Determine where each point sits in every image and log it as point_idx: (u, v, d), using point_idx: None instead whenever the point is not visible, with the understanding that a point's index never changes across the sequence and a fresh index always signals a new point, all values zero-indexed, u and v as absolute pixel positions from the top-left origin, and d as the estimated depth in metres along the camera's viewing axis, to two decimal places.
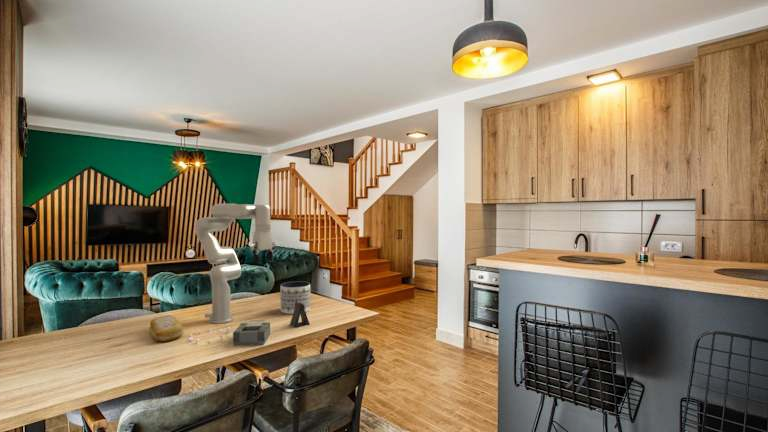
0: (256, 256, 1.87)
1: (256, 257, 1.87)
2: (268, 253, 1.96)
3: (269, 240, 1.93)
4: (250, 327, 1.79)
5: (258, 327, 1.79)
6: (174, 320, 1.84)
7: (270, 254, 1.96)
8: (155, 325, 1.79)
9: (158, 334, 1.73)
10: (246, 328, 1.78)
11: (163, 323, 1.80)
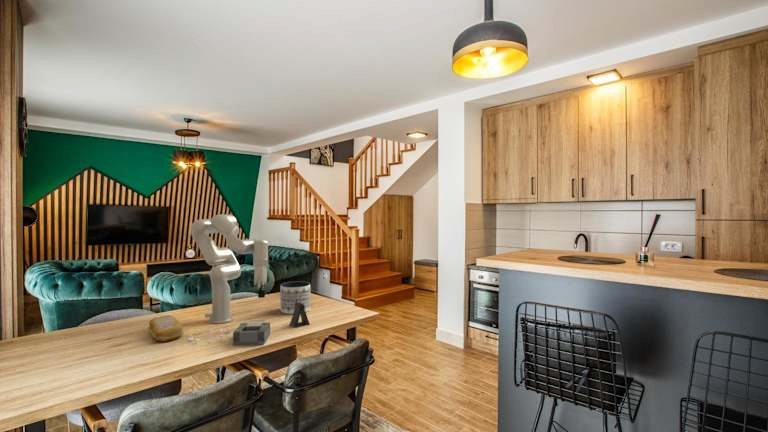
0: (262, 292, 1.94)
1: (262, 293, 1.94)
2: None
3: (266, 274, 1.98)
4: (250, 327, 1.79)
5: (258, 327, 1.79)
6: (174, 320, 1.84)
7: None
8: (155, 325, 1.79)
9: (158, 334, 1.73)
10: (246, 328, 1.78)
11: (163, 323, 1.80)
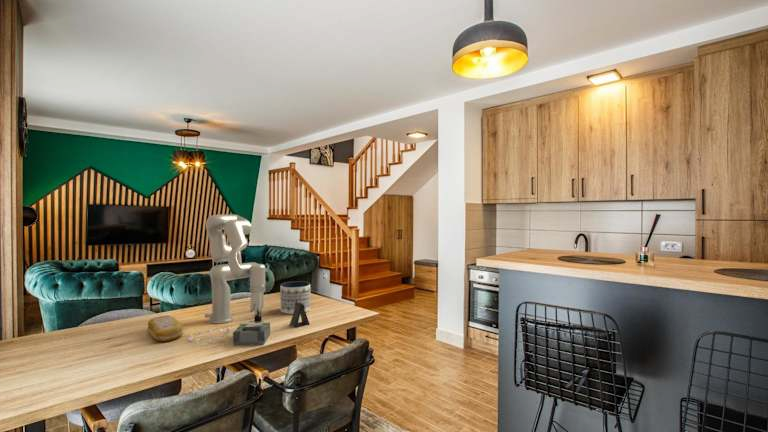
0: (258, 318, 1.88)
1: (258, 319, 1.88)
2: None
3: (263, 299, 1.91)
4: (250, 327, 1.78)
5: (258, 327, 1.78)
6: (173, 320, 1.84)
7: None
8: (154, 325, 1.79)
9: (159, 334, 1.73)
10: (246, 328, 1.78)
11: (163, 323, 1.80)
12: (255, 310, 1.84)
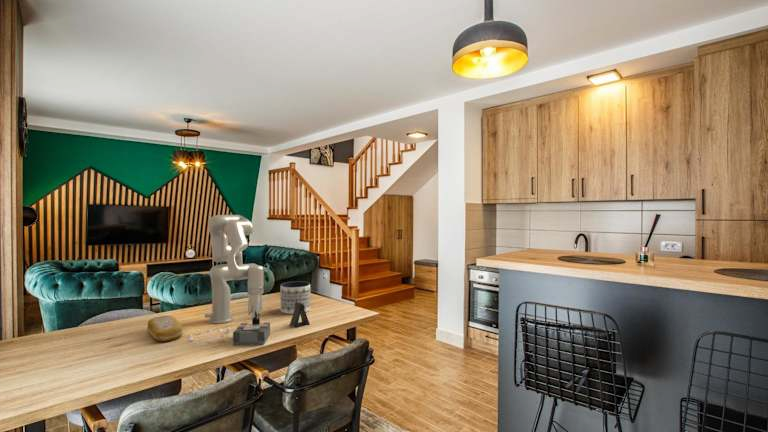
0: (256, 321, 1.83)
1: (256, 322, 1.83)
2: None
3: (261, 301, 1.87)
4: (247, 330, 1.74)
5: (256, 330, 1.74)
6: (173, 320, 1.84)
7: None
8: (154, 325, 1.79)
9: (159, 334, 1.73)
10: None
11: (162, 323, 1.80)
12: (253, 312, 1.79)
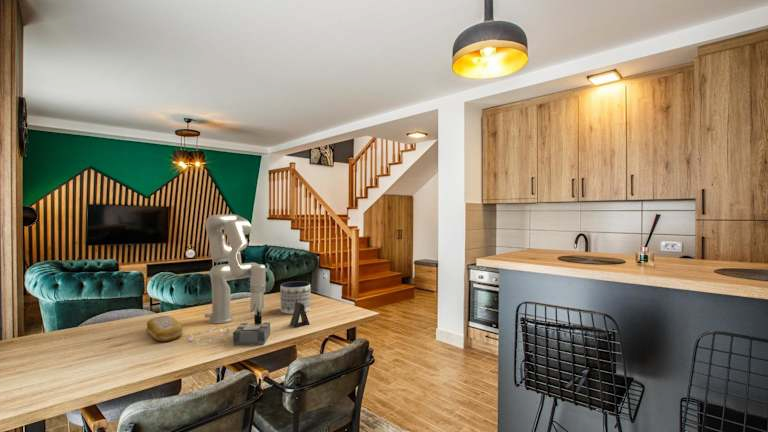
0: (258, 318, 1.89)
1: (258, 319, 1.89)
2: None
3: (263, 299, 1.92)
4: (247, 330, 1.74)
5: (256, 330, 1.74)
6: (173, 320, 1.84)
7: None
8: (154, 325, 1.79)
9: (159, 334, 1.73)
10: None
11: (162, 323, 1.80)
12: (255, 310, 1.85)
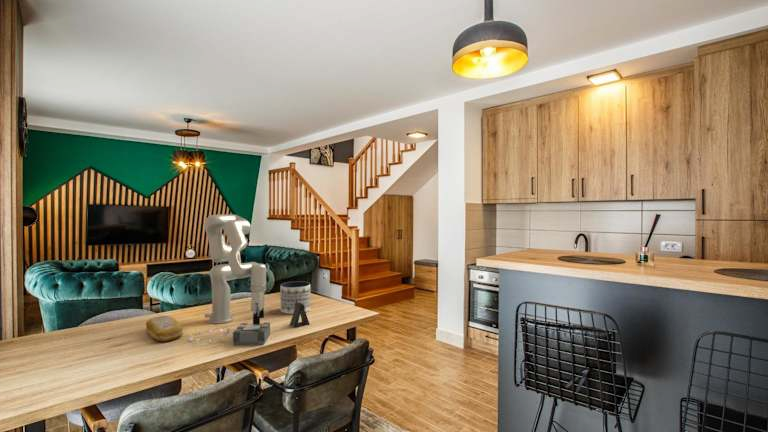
0: (257, 318, 1.85)
1: (257, 319, 1.85)
2: (259, 311, 1.95)
3: (264, 299, 1.93)
4: (247, 330, 1.74)
5: (256, 330, 1.74)
6: (173, 320, 1.84)
7: (262, 312, 1.95)
8: (154, 326, 1.79)
9: (159, 334, 1.73)
10: None
11: (162, 323, 1.80)
12: None
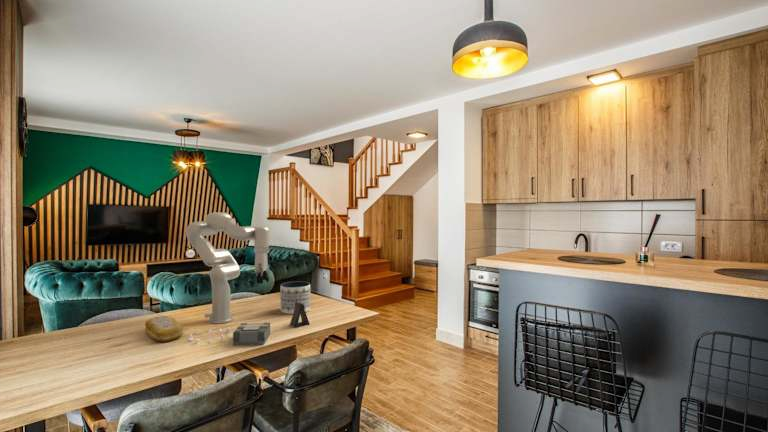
0: (260, 277, 1.93)
1: (260, 278, 1.93)
2: (262, 273, 2.03)
3: None
4: (247, 330, 1.74)
5: (256, 330, 1.74)
6: (172, 320, 1.84)
7: (265, 274, 2.03)
8: (154, 326, 1.78)
9: (160, 334, 1.73)
10: None
11: (162, 323, 1.80)
12: (259, 269, 1.93)
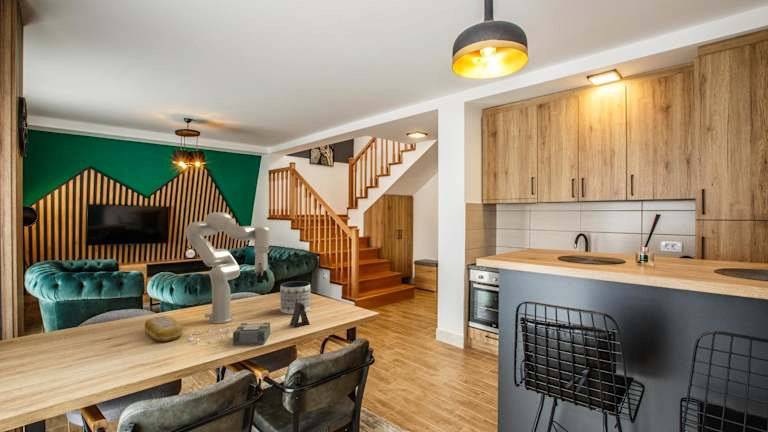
0: (261, 277, 1.93)
1: (261, 278, 1.93)
2: (262, 273, 2.03)
3: (267, 260, 2.00)
4: (247, 330, 1.74)
5: (256, 330, 1.74)
6: (172, 320, 1.84)
7: (265, 274, 2.03)
8: (154, 326, 1.78)
9: (160, 334, 1.73)
10: None
11: (162, 323, 1.80)
12: (259, 269, 1.93)
